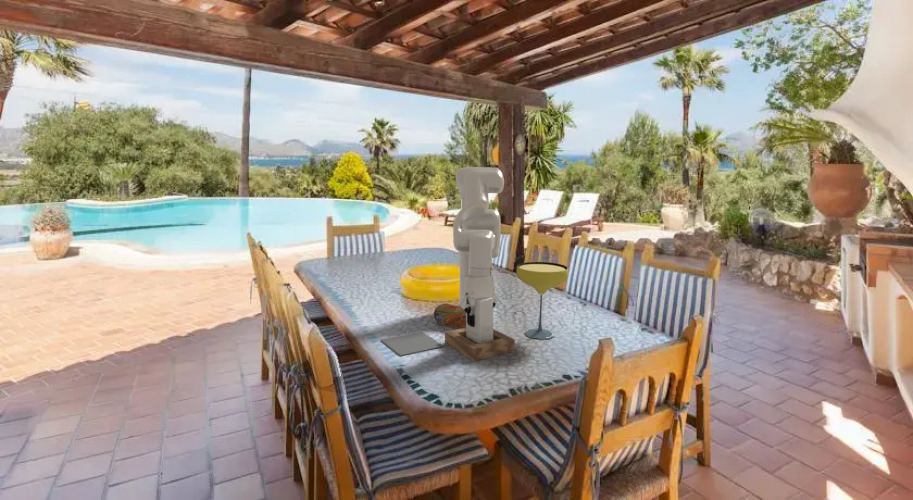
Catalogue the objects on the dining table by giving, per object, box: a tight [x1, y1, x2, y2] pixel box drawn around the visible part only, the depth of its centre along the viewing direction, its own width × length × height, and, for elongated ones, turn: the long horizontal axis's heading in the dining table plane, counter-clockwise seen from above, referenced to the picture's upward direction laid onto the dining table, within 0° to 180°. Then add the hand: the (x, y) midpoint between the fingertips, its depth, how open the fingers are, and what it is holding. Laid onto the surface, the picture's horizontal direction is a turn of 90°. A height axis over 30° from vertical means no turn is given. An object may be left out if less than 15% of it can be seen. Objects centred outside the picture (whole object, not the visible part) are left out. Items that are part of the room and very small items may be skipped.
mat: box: [380, 331, 445, 357], centre depth 161 cm, size 16×16×1 cm
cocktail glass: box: [516, 261, 569, 339], centre depth 170 cm, size 18×18×25 cm
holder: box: [444, 327, 516, 362], centre depth 159 cm, size 16×18×4 cm
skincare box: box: [465, 298, 494, 344], centre depth 158 cm, size 8×6×15 cm
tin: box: [433, 303, 466, 329], centre depth 180 cm, size 15×3×8 cm, turn 70°
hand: (479, 323), depth 158 cm, fingers closed on skincare box, 5 cm apart
